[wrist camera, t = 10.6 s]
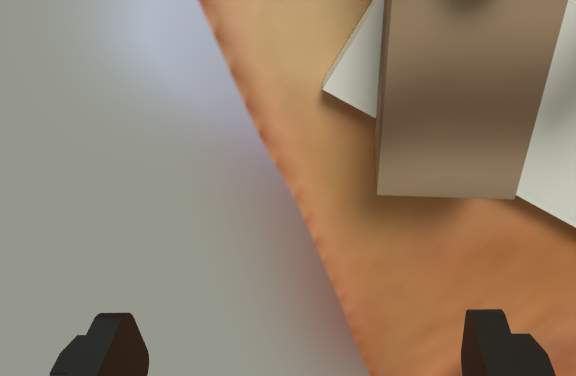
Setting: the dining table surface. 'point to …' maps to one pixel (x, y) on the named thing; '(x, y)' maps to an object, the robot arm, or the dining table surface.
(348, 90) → the board
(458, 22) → the brown rectangular block
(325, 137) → the dining table surface
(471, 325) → the robot arm
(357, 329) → the dining table surface
